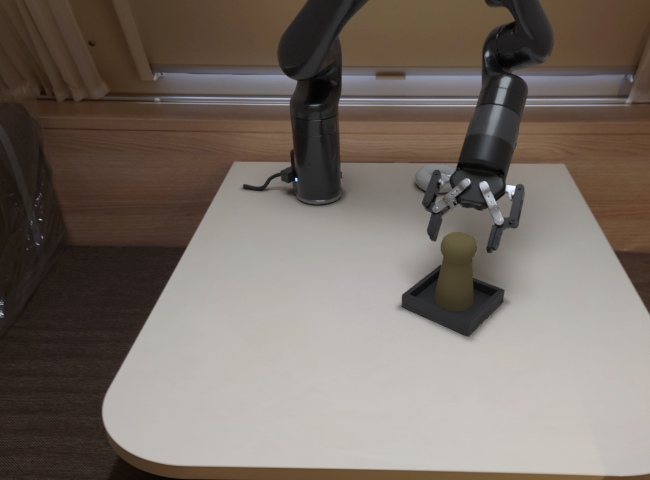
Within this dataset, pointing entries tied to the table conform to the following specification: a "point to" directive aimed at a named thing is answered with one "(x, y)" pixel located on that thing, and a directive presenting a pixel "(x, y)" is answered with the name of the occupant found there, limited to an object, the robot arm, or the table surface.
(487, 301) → the tray
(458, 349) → the table surface
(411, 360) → the table surface
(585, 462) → the table surface
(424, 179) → the donut
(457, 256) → the brown pawn piece
